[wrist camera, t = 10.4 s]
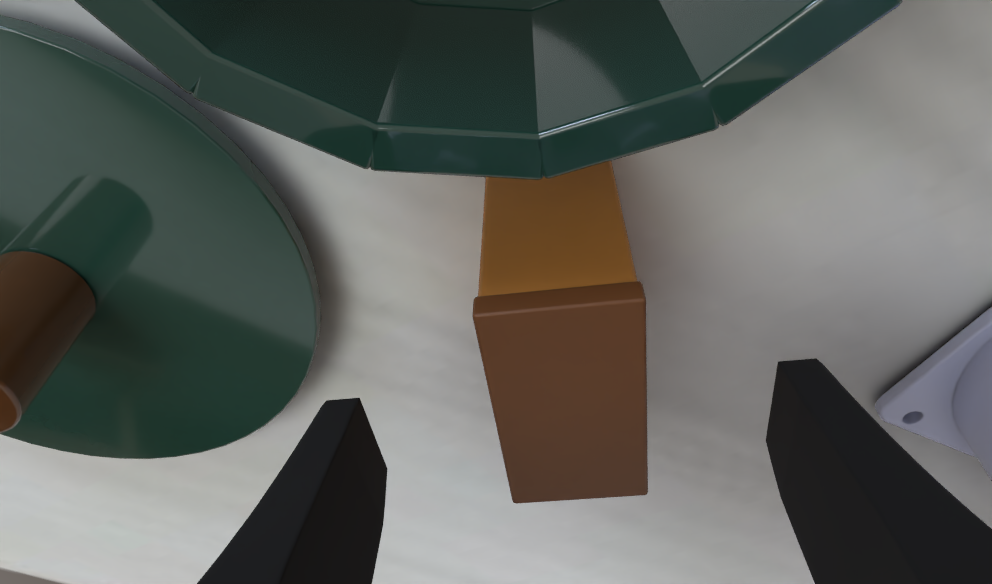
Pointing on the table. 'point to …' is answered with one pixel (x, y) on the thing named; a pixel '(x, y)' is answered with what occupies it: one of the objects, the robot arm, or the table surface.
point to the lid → (137, 264)
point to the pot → (485, 71)
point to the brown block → (563, 337)
